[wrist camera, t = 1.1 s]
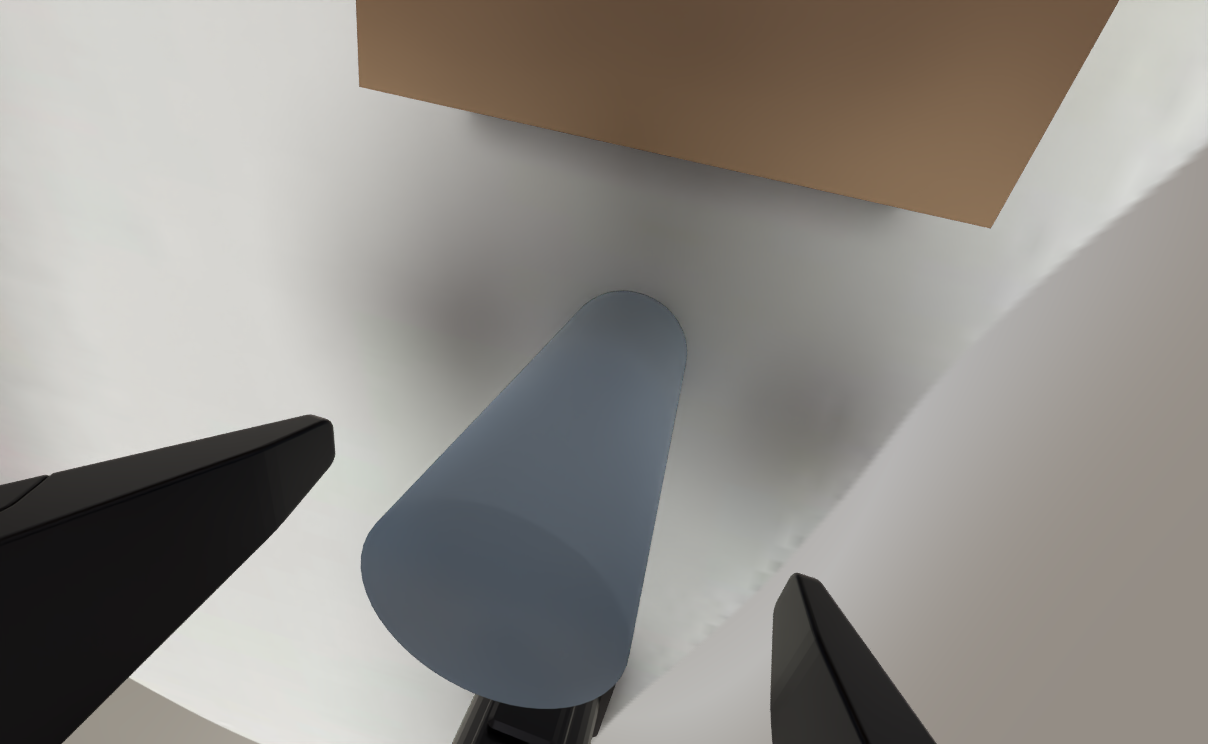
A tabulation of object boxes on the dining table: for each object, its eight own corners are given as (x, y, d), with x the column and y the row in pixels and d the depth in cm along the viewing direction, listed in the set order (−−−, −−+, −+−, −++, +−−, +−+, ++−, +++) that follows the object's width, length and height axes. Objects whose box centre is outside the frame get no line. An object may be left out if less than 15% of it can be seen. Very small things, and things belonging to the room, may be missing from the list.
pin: (668, 418, 16) (598, 741, 7) (559, 386, 16) (366, 651, 8) (702, 309, 14) (664, 563, 5) (577, 277, 15) (353, 459, 6)
